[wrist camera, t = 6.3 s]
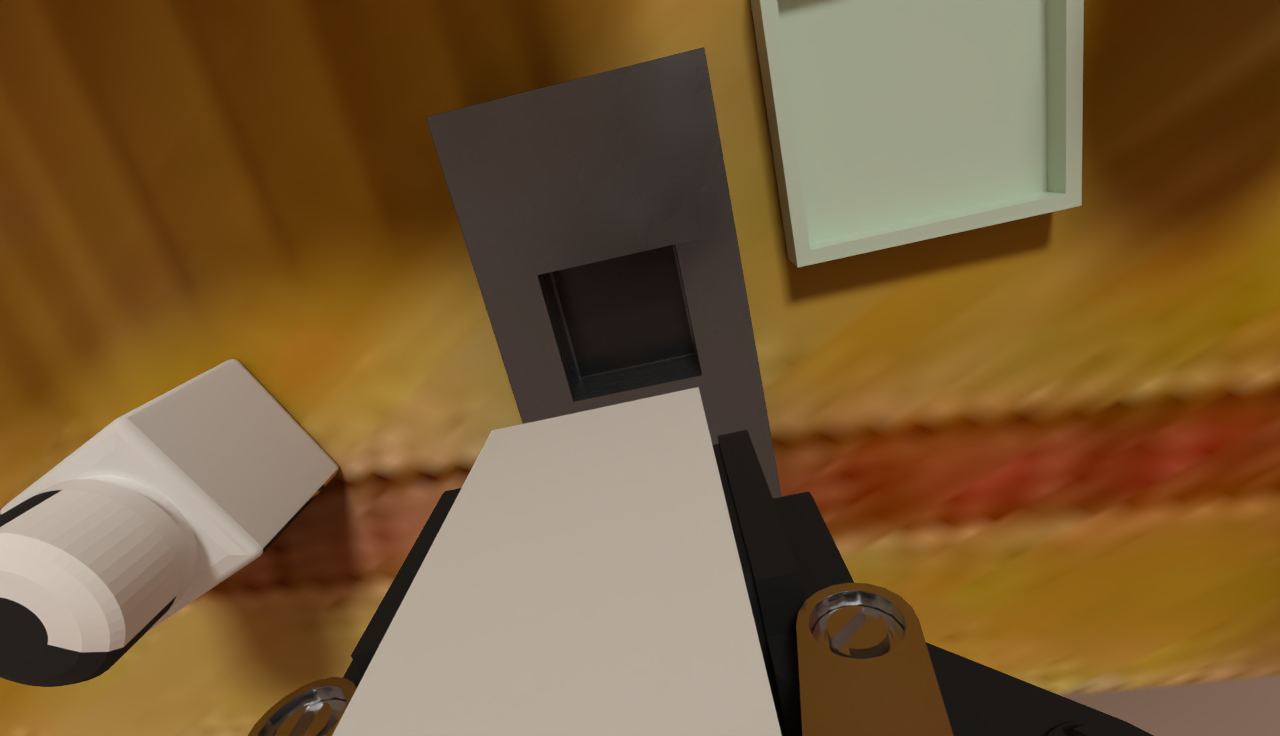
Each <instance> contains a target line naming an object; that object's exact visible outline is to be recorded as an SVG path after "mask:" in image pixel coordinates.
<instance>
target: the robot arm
mask: <svg viewBox="0 0 1280 736" xmlns="http://www.w3.org/2000/svg"><path fill="white" fill-rule="evenodd" d="M717 437H718V443H719V444H715V445H712V446H713V450H714V454H715V458H716V462H717V466H718V471H719V475H720V479H721V483H722V487H723V492H724V496H725V500H726V504H727V508H728V513H729V517H730V521H731V525H732V529H733V533H734V538H735V542H736V546H737V550H738V554H739V559H740V563H741V567H742V571H743V575H744V580H745V584H746V588H747V592H748V596H749V601H750V605H751V609H752V613H753V617H754V621H755V626H756V630H757V634H758V638H759V642H760V647H761V651H762V655H763V659H764V663H765V668H766V672H767V676H768V680H769V684H770V688H771V693H772V697H773V701H774V705H775V709H776V714H777V718H778V722H779V726H780V730H781V735H782V736H1153V735H1151V734H1149V733H1147V732H1145V731H1143V730H1141V729H1139V728H1137V727H1135V726H1133V725H1131V724H1130V723H1128V722H1125V721H1123V720H1120V719H1118V718H1115V717H1112V716H1110V715H1108V714H1105V713H1103V712H1100V711H1097V710H1095V709H1093V708H1090V707H1087V706H1085V705H1082V704H1080V703H1077V702H1075V701H1072V700H1070V699H1067V698H1065V697H1062V696H1060V695H1057V694H1055V693H1052V692H1050V691H1047V690H1045V689H1042V688H1040V687H1037V686H1035V685H1032V684H1030V683H1027V682H1024V681H1022V680H1019V679H1017V678H1014V677H1012V676H1009V675H1007V674H1004V673H1002V672H999V671H997V670H994V669H992V668H989V667H987V666H984V665H982V664H979V663H977V662H974V661H972V660H969V659H967V658H964V657H961V656H959V655H956V654H954V653H951V652H949V651H946V650H944V649H941V648H939V647H936V646H934V645H931V644H929V643H926V642H925V639H924V635H923V632H922V629H921V625H920V622H919V619H918V617H917V616H916V614H915V612H914V610H913V608H912V607H911V606H910V605H909V604H908V603H907V602H906V601H905V600H904V599H903V598H902V597H900V596H899V595H897V594H895V593H893V592H891V591H889V590H887V589H885V588H882V587H878V586H875V585H871V584H865V583H854V582H853V579H852V577H851V575H850V573H849V571H848V569H847V567H846V565H845V563H844V561H843V559H842V557H841V555H840V553H839V551H838V549H837V547H836V544H835V542H834V540H833V538H832V536H831V534H830V532H829V530H828V528H827V526H826V524H825V522H824V520H823V518H822V516H821V514H820V512H819V509H818V507H817V505H816V503H815V501H814V499H813V497H812V495H811V494H810V492H804V493H799V494H794V495H789V496H783V497H778V498H772V495H771V492H770V490H769V487H768V484H767V482H766V479H765V476H764V473H763V471H762V468H761V465H760V463H759V460H758V457H757V455H756V452H755V449H754V447H753V444H752V441H751V438H750V436H749V433H748V431H747V430H743V431H739V432H734V433H729V434H724V435H719V436H717ZM460 490H461V488H459V489H455V490H450V491H445V492H444V493H443V494H442V496H441V498H440V500H439V502H438V503H437V505H436V507H435V509H434V510H433V512H432V514H431V516H430V517H429V519H428V521H427V523H426V524H425V526H424V528H423V530H422V531H421V533H420V535H419V537H418V539H417V540H416V542H415V544H414V546H413V547H412V549H411V551H410V553H409V554H408V556H407V558H406V560H405V561H404V563H403V565H402V567H401V568H400V570H399V572H398V574H397V575H396V577H395V579H394V581H393V583H392V584H391V586H390V588H389V590H388V591H387V593H386V595H385V597H384V598H383V600H382V602H381V604H380V605H379V607H378V609H377V611H376V612H375V614H374V616H373V618H372V620H371V621H370V623H369V625H368V627H367V628H366V630H365V632H364V634H363V635H362V637H361V639H360V641H359V642H358V644H357V646H356V648H355V649H354V651H353V653H352V655H351V657H352V659H353V661H352V662H351V664H350V666H349V668H348V670H347V671H346V673H345V675H344V677H343V678H340V677H330V678H326V679H321V680H317V681H314V682H312V683H310V684H307V685H305V686H302V687H300V688H299V689H297V690H295V691H294V692H292V693H290V694H289V695H287V696H285V697H284V698H283V699H281V700H280V701H279V702H278V703H276V704H275V705H274V706H273V707H271V708H270V709H269V710H268V711H267V712H266V713H265V714H264V715H263V716H262V717H261V718H260V719H259V721H258V722H257V723H256V724H255V725H254V727H253V728H252V730H251V731H250V733H249V734H248V736H332V735H333V733H334V731H335V729H336V727H337V725H338V723H339V722H340V720H341V718H342V716H343V714H344V712H345V710H346V708H347V706H348V704H349V702H350V701H351V699H352V697H353V695H354V693H355V691H356V689H357V687H358V685H359V683H360V681H361V680H362V678H363V676H364V674H365V672H366V670H367V668H368V666H369V664H370V662H371V660H372V658H373V657H374V655H375V653H376V651H377V649H378V647H379V645H380V643H381V641H382V639H383V637H384V636H385V634H386V632H387V630H388V628H389V626H390V624H391V622H392V620H393V618H394V616H395V614H396V613H397V611H398V609H399V607H400V605H401V603H402V601H403V599H404V597H405V595H406V593H407V592H408V590H409V588H410V586H411V584H412V582H413V580H414V578H415V576H416V574H417V572H418V571H419V569H420V567H421V565H422V563H423V561H424V559H425V557H426V555H427V553H428V551H429V549H430V548H431V546H432V544H433V542H434V540H435V538H436V536H437V534H438V532H439V530H440V528H441V527H442V525H443V523H444V521H445V519H446V517H447V515H448V513H449V511H450V509H451V507H452V505H453V504H454V502H455V500H456V498H457V496H458V494H459V492H460Z"/></svg>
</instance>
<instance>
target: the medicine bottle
mask: <svg viewBox="0 0 1280 736" xmlns="http://www.w3.org/2000/svg"><path fill="white" fill-rule="evenodd" d="M338 469H339V467H338V465H337V464H336V463H335V461H334V460H333V459H332V458H331V457H330V456H329V455H328V454H327V453H326V452H325V451H324V450H323V449H322V448H321V447H320V446H319V445H318V444H317V443H316V442H315V440H314V439H313V438H312V437H311V436H310V435H309V434H308V433H307V432H306V431H305V430H304V429H303V428H302V427H301V426H300V425H299V424H298V423H297V422H296V420H295V419H294V418H293V417H292V416H291V415H290V414H289V413H288V412H287V411H286V410H285V409H284V408H283V407H282V406H281V405H280V404H279V403H278V402H277V400H276V399H275V398H274V397H273V396H272V395H271V394H270V393H269V392H268V391H267V390H266V389H265V388H264V387H263V386H262V385H261V384H260V383H259V382H258V381H257V379H256V378H255V377H254V376H253V375H252V374H251V373H250V372H249V371H248V370H247V369H246V368H245V367H244V366H243V365H242V364H241V363H240V362H239V361H238V360H235V359H231V360H228V361H225V362H223V363H222V364H220V365H218V366H216V367H214V368H212V369H210V370H208V371H206V372H204V373H203V374H201V375H199V376H197V377H195V378H193V379H191V380H189V381H187V382H185V383H184V384H182V385H180V386H178V387H176V388H174V389H172V390H170V391H168V392H166V393H165V394H163V395H161V396H159V397H157V398H155V399H153V400H151V401H149V402H147V403H146V404H144V405H142V406H140V407H138V408H136V409H134V410H132V411H130V412H128V413H127V414H125V415H123V416H121V417H119V418H117V419H115V420H114V421H113V422H112V423H110V424H109V425H108V426H106V427H105V428H104V429H103V430H101V431H100V432H99V433H97V434H96V435H95V436H94V437H92V438H91V439H90V440H88V441H87V442H86V443H85V444H83V445H82V446H81V447H79V448H78V449H77V450H76V451H74V452H73V453H72V454H71V455H69V456H68V457H67V458H65V459H64V460H63V461H62V462H60V463H59V464H58V465H56V466H55V467H54V468H53V469H51V470H50V471H49V472H47V473H46V474H45V475H44V476H42V477H41V478H40V479H38V480H37V481H36V482H35V483H33V484H32V485H31V486H29V487H28V488H27V489H26V490H24V491H23V492H22V493H20V494H19V495H18V496H17V497H15V498H14V499H13V500H11V501H10V502H9V503H8V504H6V505H5V506H4V507H3V508H2V510H1V511H0V512H1V515H0V677H2V678H4V679H7V680H10V681H13V682H17V683H21V684H26V685H32V686H42V687H53V686H63V685H69V684H75V683H80V682H83V681H87V680H90V679H93V678H95V677H97V676H99V675H101V674H102V673H104V672H105V671H107V670H108V669H109V668H110V667H111V666H112V665H113V664H114V663H115V662H116V661H118V660H119V659H120V658H121V657H122V656H123V655H124V654H125V653H126V652H127V651H128V650H129V649H130V648H131V647H132V646H133V645H134V644H135V643H136V642H137V641H138V640H139V639H140V638H141V637H142V636H143V635H144V634H145V633H146V632H147V631H148V630H150V629H152V628H153V627H155V626H156V625H158V624H159V623H161V622H162V621H164V620H165V619H167V618H168V617H170V616H171V615H173V614H174V613H176V612H177V611H179V610H180V609H182V608H183V607H185V606H186V605H188V604H189V603H191V602H192V601H194V600H195V599H197V598H198V597H200V596H201V595H203V594H204V593H206V592H207V591H209V590H210V589H212V588H213V587H215V586H216V585H218V584H219V583H221V582H222V581H224V580H225V579H227V578H228V577H230V576H231V575H233V574H234V573H236V572H237V571H239V570H240V569H242V568H243V567H245V566H246V565H248V564H249V563H251V562H252V561H254V560H255V559H257V558H258V557H260V556H261V555H262V554H263V553H264V552H265V551H266V549H267V548H268V547H269V546H270V545H271V544H272V543H273V542H274V541H275V540H276V539H277V538H278V536H279V535H280V534H281V533H282V532H283V531H284V530H285V529H286V528H287V527H288V526H289V525H290V524H291V522H292V521H293V520H294V519H295V518H296V517H297V516H298V515H299V514H300V513H301V512H302V511H303V509H304V508H305V507H306V506H307V505H308V504H309V503H310V502H311V501H312V500H313V499H314V498H315V497H316V495H317V494H318V493H319V492H320V491H321V490H322V489H323V488H324V487H325V486H326V485H327V484H328V482H329V481H330V480H331V479H332V478H333V477H334V476H335V475H336V474H337V472H338Z"/></svg>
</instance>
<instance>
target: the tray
mask: <svg viewBox="0 0 1280 736" xmlns="http://www.w3.org/2000/svg"><path fill="white" fill-rule="evenodd" d="M750 1H751V8H752V15H753V22H754V28H755V35H756V42H757V49H758V56H759V63H760V70H761V76H762V83H763V90H764V97H765V104H766V111H767V117H768V124H769V131H770V138H771V145H772V152H773V158H774V165H775V172H776V179H777V186H778V193H779V199H780V206H781V213H782V220H783V227H784V234H785V240H786V247H787V254H788V260H789V261H790V262H792V263H793V264H794V265H795V266H796V267H803V266H808V265H812V264H817V263H821V262H826V261H830V260H835V259H840V258H844V257H849V256H853V255H858V254H863V253H867V252H872V251H876V250H881V249H885V248H890V247H895V246H899V245H904V244H908V243H913V242H917V241H922V240H927V239H931V238H936V237H940V236H945V235H949V234H954V233H959V232H963V231H968V230H972V229H977V228H981V227H986V226H991V225H995V224H1000V223H1004V222H1009V221H1013V220H1018V219H1023V218H1027V217H1032V216H1036V215H1041V214H1045V213H1050V212H1055V211H1059V210H1064V209H1068V208H1073V207H1077V206H1082V120H1083V31H1084V0H750Z"/></svg>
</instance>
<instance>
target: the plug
mask: <svg viewBox="0 0 1280 736" xmlns="http://www.w3.org/2000/svg"><path fill="white" fill-rule="evenodd" d="M332 736H782V735H781V730H780V726H779V722H778V718H777V714H776V709H775V705H774V701H773V697H772V693H771V688H770V684H769V680H768V676H767V672H766V668H765V663H764V659H763V655H762V651H761V647H760V642H759V638H758V634H757V630H756V626H755V621H754V617H753V613H752V609H751V605H750V601H749V596H748V592H747V588H746V584H745V580H744V575H743V571H742V567H741V563H740V559H739V554H738V550H737V546H736V542H735V538H734V533H733V529H732V525H731V521H730V517H729V513H728V508H727V504H726V500H725V496H724V492H723V487H722V483H721V479H720V475H719V471H718V466H717V462H716V458H715V454H714V450H713V446H712V441H711V437H710V433H709V429H708V425H707V420H706V416H705V412H704V408H703V404H702V399H701V395H700V391H699V387H696V388H691V389H687V390H682V391H677V392H672V393H668V394H663V395H658V396H653V397H649V398H644V399H639V400H634V401H630V402H625V403H620V404H615V405H611V406H606V407H601V408H597V409H592V410H587V411H582V412H578V413H573V414H568V415H563V416H559V417H554V418H549V419H544V420H540V421H535V422H530V423H525V424H521V425H516V426H511V427H506V428H502V429H497V430H492V431H491V433H490V435H489V437H488V439H487V440H486V442H485V444H484V446H483V448H482V450H481V452H480V454H479V456H478V458H477V460H476V462H475V463H474V465H473V467H472V469H471V471H470V473H469V475H468V477H467V479H466V481H465V483H464V484H463V486H462V488H461V490H460V492H459V494H458V496H457V498H456V500H455V502H454V504H453V505H452V507H451V509H450V511H449V513H448V515H447V517H446V519H445V521H444V523H443V525H442V527H441V528H440V530H439V532H438V534H437V536H436V538H435V540H434V542H433V544H432V546H431V548H430V549H429V551H428V553H427V555H426V557H425V559H424V561H423V563H422V565H421V567H420V569H419V571H418V572H417V574H416V576H415V578H414V580H413V582H412V584H411V586H410V588H409V590H408V592H407V593H406V595H405V597H404V599H403V601H402V603H401V605H400V607H399V609H398V611H397V613H396V614H395V616H394V618H393V620H392V622H391V624H390V626H389V628H388V630H387V632H386V634H385V636H384V637H383V639H382V641H381V643H380V645H379V647H378V649H377V651H376V653H375V655H374V657H373V658H372V660H371V662H370V664H369V666H368V668H367V670H366V672H365V674H364V676H363V678H362V680H361V681H360V683H359V685H358V687H357V689H356V691H355V693H354V695H353V697H352V699H351V701H350V702H349V704H348V706H347V708H346V710H345V712H344V714H343V716H342V718H341V720H340V722H339V723H338V725H337V727H336V729H335V731H334V733H333V735H332Z"/></svg>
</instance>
